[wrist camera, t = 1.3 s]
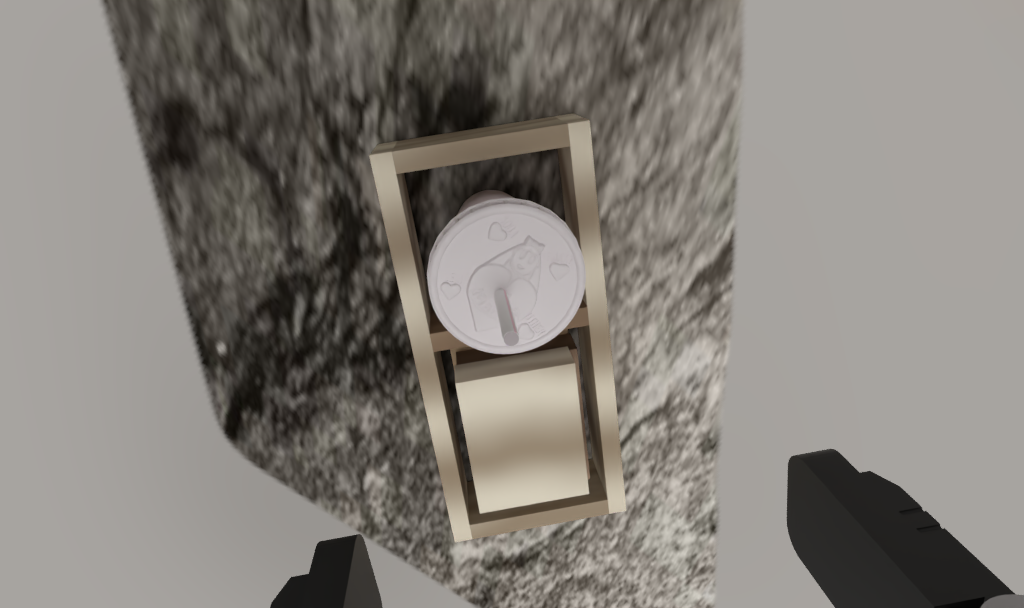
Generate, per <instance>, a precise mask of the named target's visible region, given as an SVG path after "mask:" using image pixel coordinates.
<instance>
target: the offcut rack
mask: <svg viewBox="0 0 1024 608" xmlns="http://www.w3.org/2000/svg"><path fill="white" fill-rule="evenodd" d="M556 148H557V150H558V159H559V168H560V177H561V185H562V194H563V203H564V212H565V221H566V224H567V226H568V227H569V229H570V230H571V232H572V233H573V235H574V236H575V238H576V239H577V242H578V245H579V248H580V250H581V252H582V255H583V259H584V263H585V270H586V283H585V290H584V295H583V298H582V301H581V304H580V306H579V308H578V310H577V312H576V314H575V316H574V317H573V319H572V320H571V322H570V323H569V324H568V325H567V326H566V328H565V329H570V328H576V327H578V335H579V344H580V353H581V362H582V370H583V379H584V388H585V397H586V406H587V415H588V423H589V432H590V441H591V450H592V459H590V460H588V462H589V472H590V479H588V487H589V494H586V495H580V496H575V497H569V498H564V499H558V500H553V501H547V502H542V503H536V504H531V505H525V506H519V507H514V508H508V509H503V510H497V511H492V512H486V513H481V514H480V512H479V506H478V501H477V496H476V490H475V485H474V481H469V482H467V479H466V474H465V469H464V465H463V460H462V455H461V450H460V445H459V440H458V435H457V430H456V425H455V420H454V416H453V411H452V406H451V401H450V396H449V391H448V386H447V381H446V376H445V371H444V367H443V362H442V357H441V352H440V351H443V350H448V349H454V348H460V347H466V346H468V345H466V344H464V343H463V342H461V341H460V340H458V339H457V338H456V337H454V336H453V335H452V334H451V333H450V332H449V331H448V330H447V329H446V328H445V327H444V326H443V324H442V323H441V321H440V320H439V318H438V317H437V315H436V313H435V311H434V309H433V306H432V305H431V303H430V298H429V293H428V288H427V283H426V278H425V273H424V268H423V264H422V259H421V254H420V249H419V244H418V239H417V234H416V229H415V224H414V219H413V215H412V210H411V205H410V200H409V195H408V190H407V185H406V180H405V175H404V173H406V172H412V171H419V170H425V169H431V168H437V167H444V166H450V165H456V164H462V163H469V162H475V161H481V160H487V159H494V158H500V157H506V156H512V155H519V154H525V153H531V152H537V151H544V150H550V149H556ZM369 157H370V161H371V166H372V170H373V175H374V179H375V184H376V188H377V193H378V197H379V202H380V206H381V211H382V215H383V220H384V224H385V229H386V233H387V238H388V242H389V247H390V251H391V256H392V260H393V265H394V269H395V274H396V278H397V283H398V287H399V292H400V296H401V301H402V305H403V310H404V314H405V319H406V323H407V328H408V332H409V337H410V341H411V346H412V350H413V355H414V359H415V364H416V368H417V373H418V378H419V382H420V387H421V391H422V396H423V400H424V405H425V409H426V414H427V418H428V423H429V427H430V432H431V436H432V441H433V445H434V450H435V454H436V459H437V463H438V468H439V472H440V477H441V481H442V486H443V490H444V495H445V499H446V504H447V508H448V513H449V517H450V522H451V526H452V531H453V535H454V540H455V542H460V541H465V540H471V539H476V538H481V537H487V536H492V535H497V534H503V533H508V532H514V531H519V530H524V529H530V528H535V527H541V526H546V525H551V524H557V523H562V522H568V521H573V520H578V519H584V518H589V517H595V516H600V515H605V514H611V513H616V512H622V511H626V503H625V492H624V482H623V471H622V460H621V450H620V439H619V428H618V417H617V407H616V396H615V385H614V375H613V364H612V353H611V343H610V332H609V321H608V310H607V300H606V289H605V278H604V268H603V257H602V246H601V236H600V225H599V214H598V203H597V193H596V182H595V171H594V161H593V150H592V139H591V129H590V120H588V119H585V118H583V117H581V116H578V115H576V114H573V113H572V114H565V115H559V116H553V117H546V118H540V119H534V120H528V121H521V122H515V123H509V124H502V125H496V126H490V127H483V128H477V129H471V130H464V131H458V132H452V133H445V134H439V135H433V136H426V137H420V138H414V139H407V140H401V141H395V142H388V143H382V144H377V146H376V147H375V148H374V150H373V151H372V152H371V154H370V155H369Z"/></svg>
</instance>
